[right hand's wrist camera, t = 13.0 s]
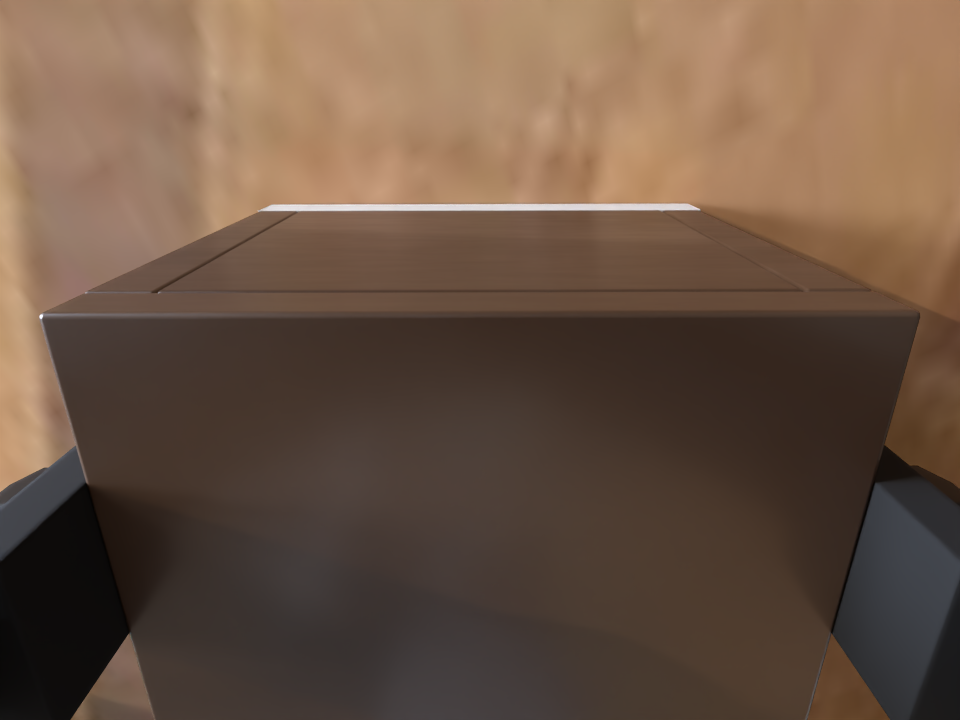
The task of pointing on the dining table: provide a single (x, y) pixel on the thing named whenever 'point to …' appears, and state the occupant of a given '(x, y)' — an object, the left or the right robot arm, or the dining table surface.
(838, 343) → the cabinet
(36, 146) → the dining table surface
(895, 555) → the right robot arm
